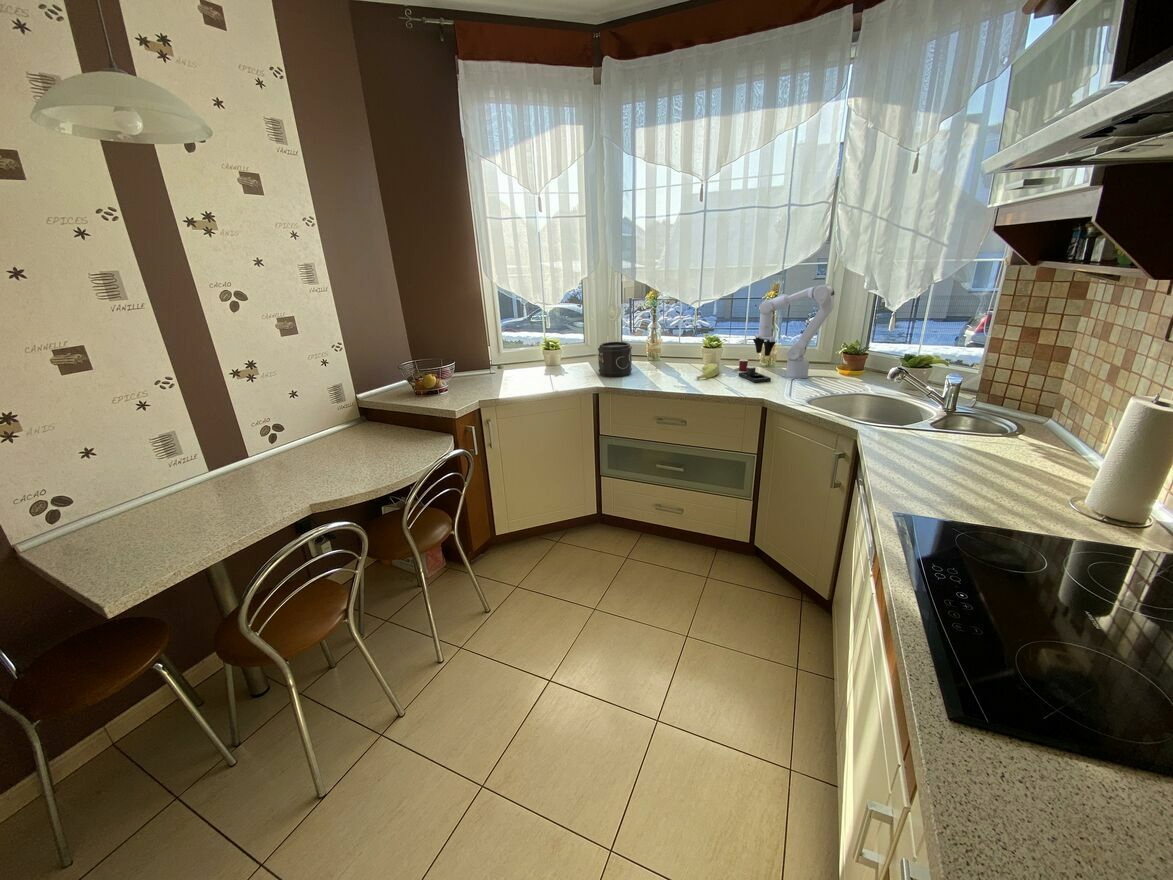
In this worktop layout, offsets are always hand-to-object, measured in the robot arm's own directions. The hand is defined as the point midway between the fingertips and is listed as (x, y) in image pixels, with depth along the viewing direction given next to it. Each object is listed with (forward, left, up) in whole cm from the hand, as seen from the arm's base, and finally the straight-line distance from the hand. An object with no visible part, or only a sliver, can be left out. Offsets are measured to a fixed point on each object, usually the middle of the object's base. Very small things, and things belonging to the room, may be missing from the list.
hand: (763, 354), depth 236 cm
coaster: (+5, -9, -10) cm, 14 cm away
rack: (+10, +10, -10) cm, 17 cm away
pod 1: (+5, -9, -9) cm, 14 cm away
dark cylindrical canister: (+68, -29, -10) cm, 75 cm away
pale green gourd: (+27, -7, -10) cm, 30 cm away
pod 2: (+10, +6, -9) cm, 15 cm away
